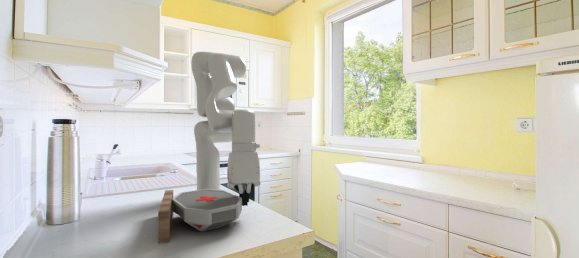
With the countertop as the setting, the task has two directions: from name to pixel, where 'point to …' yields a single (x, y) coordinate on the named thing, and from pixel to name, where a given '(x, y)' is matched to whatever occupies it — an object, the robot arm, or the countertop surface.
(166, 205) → the walnut board
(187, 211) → the first aid kit
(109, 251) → the countertop surface
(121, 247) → the countertop surface
